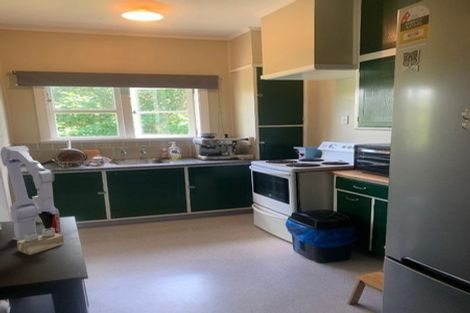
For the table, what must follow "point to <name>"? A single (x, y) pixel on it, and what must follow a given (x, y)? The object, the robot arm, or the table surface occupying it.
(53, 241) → the peg board
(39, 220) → the skincare box
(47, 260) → the table surface
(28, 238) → the peg
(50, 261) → the table surface
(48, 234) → the peg
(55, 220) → the soda can
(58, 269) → the table surface
